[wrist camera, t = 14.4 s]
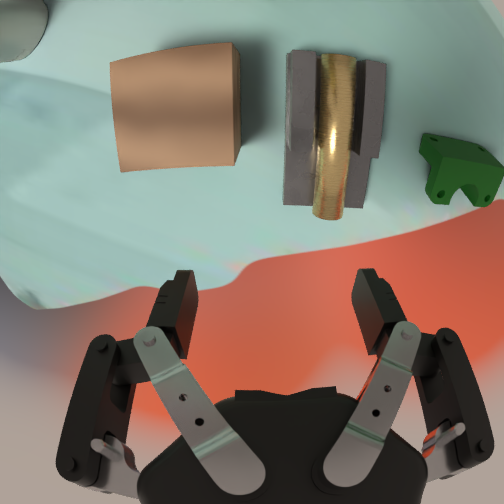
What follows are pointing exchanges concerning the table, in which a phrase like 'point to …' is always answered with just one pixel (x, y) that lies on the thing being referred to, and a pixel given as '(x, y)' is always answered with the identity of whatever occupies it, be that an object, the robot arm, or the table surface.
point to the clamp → (460, 170)
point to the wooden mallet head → (177, 107)
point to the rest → (307, 127)
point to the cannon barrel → (334, 134)
